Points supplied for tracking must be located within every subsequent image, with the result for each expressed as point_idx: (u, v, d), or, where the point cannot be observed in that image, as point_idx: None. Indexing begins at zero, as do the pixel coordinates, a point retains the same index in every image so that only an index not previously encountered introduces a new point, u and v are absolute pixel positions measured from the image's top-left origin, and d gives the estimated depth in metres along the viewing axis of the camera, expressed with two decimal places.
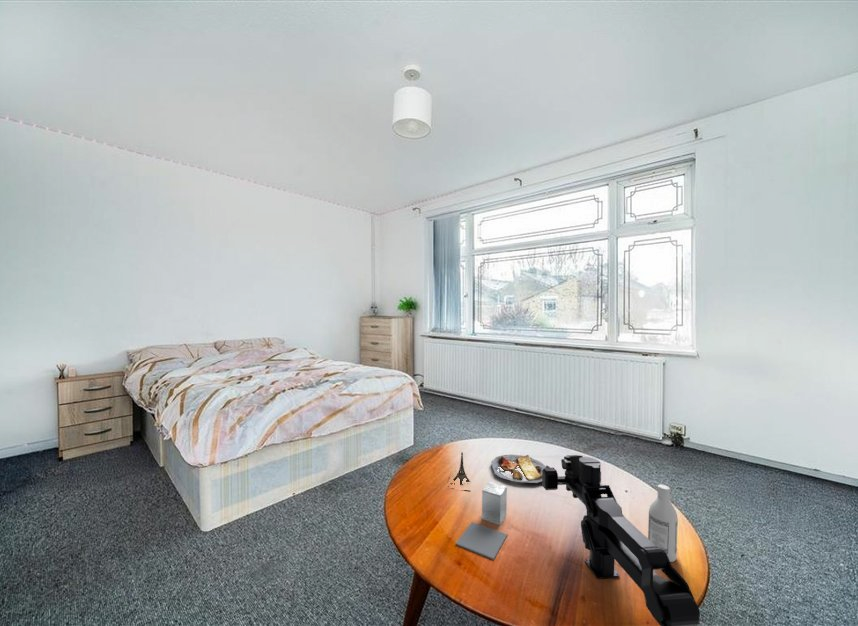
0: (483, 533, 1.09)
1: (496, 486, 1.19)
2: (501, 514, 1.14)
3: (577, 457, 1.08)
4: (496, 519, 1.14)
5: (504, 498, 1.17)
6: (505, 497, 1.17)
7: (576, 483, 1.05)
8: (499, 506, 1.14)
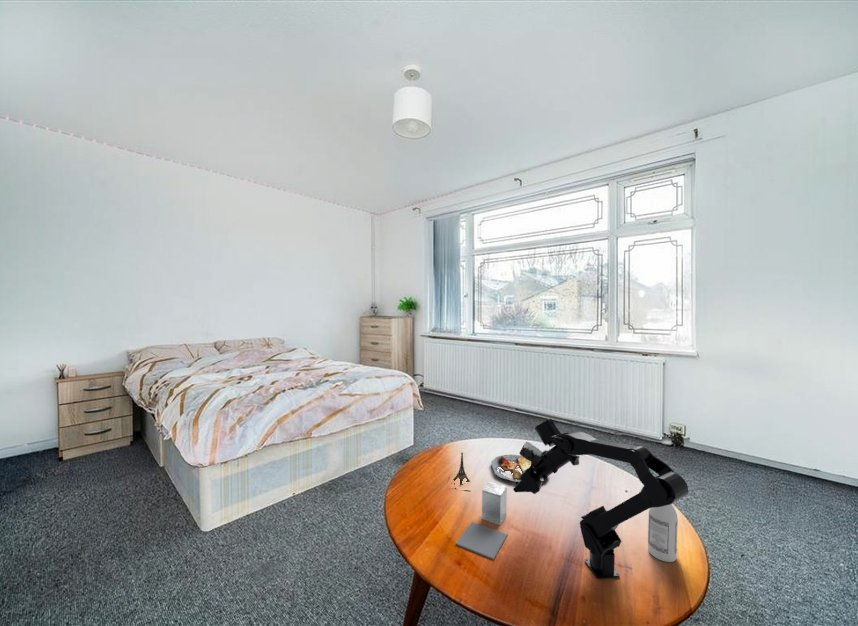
0: (483, 533, 1.09)
1: (496, 486, 1.19)
2: (501, 514, 1.14)
3: (526, 444, 1.12)
4: (496, 519, 1.14)
5: (504, 498, 1.17)
6: (505, 497, 1.17)
7: (547, 456, 1.06)
8: (499, 506, 1.14)
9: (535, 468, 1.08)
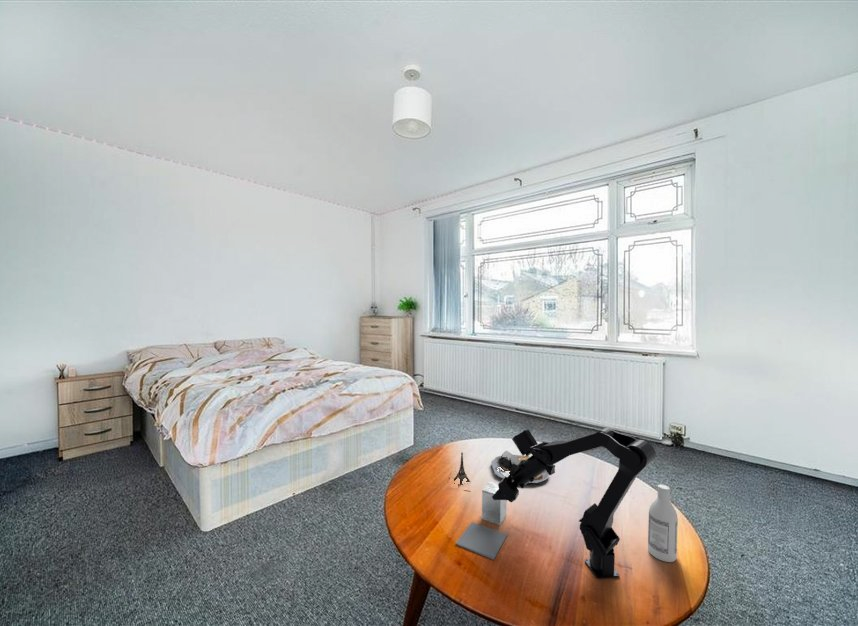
0: (483, 533, 1.09)
1: (496, 486, 1.19)
2: (501, 514, 1.14)
3: (505, 453, 1.16)
4: (496, 519, 1.14)
5: None
6: None
7: (524, 466, 1.10)
8: (499, 506, 1.14)
9: (513, 477, 1.12)
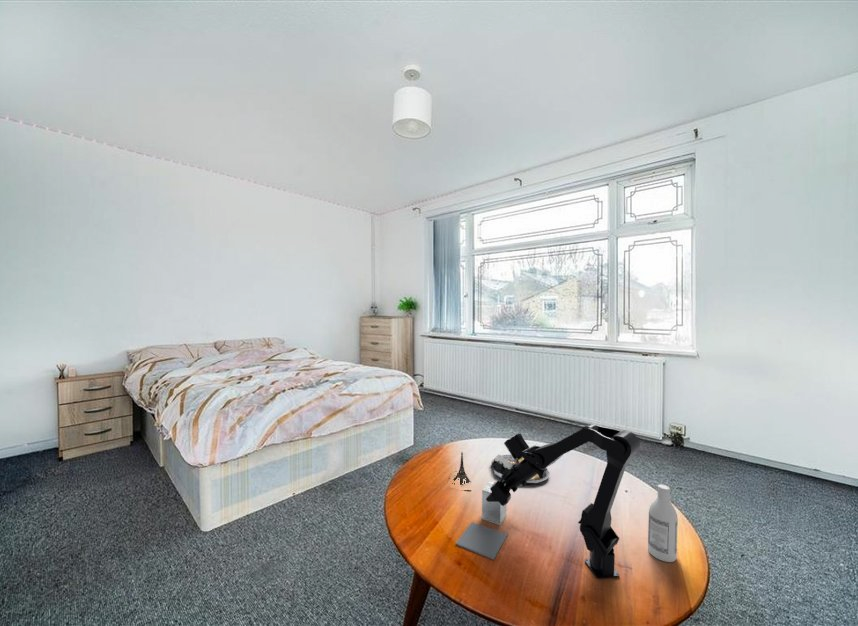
0: (483, 533, 1.09)
1: None
2: (501, 514, 1.14)
3: (498, 457, 1.17)
4: (496, 519, 1.14)
5: None
6: None
7: (516, 469, 1.11)
8: (499, 506, 1.14)
9: (505, 480, 1.13)
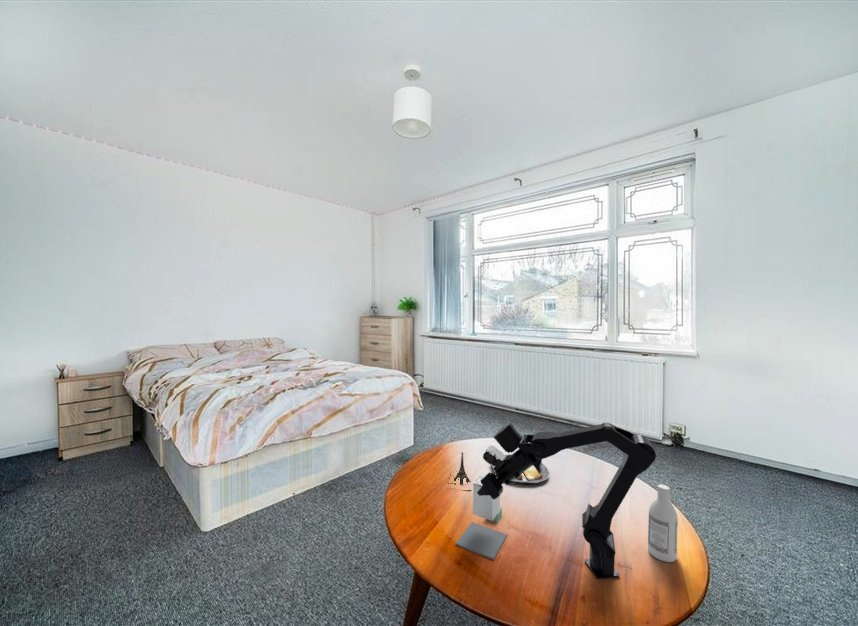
0: (483, 533, 1.09)
1: None
2: (493, 509, 1.06)
3: (490, 447, 1.09)
4: (488, 514, 1.06)
5: None
6: None
7: (509, 461, 1.03)
8: (490, 500, 1.06)
9: (497, 473, 1.05)
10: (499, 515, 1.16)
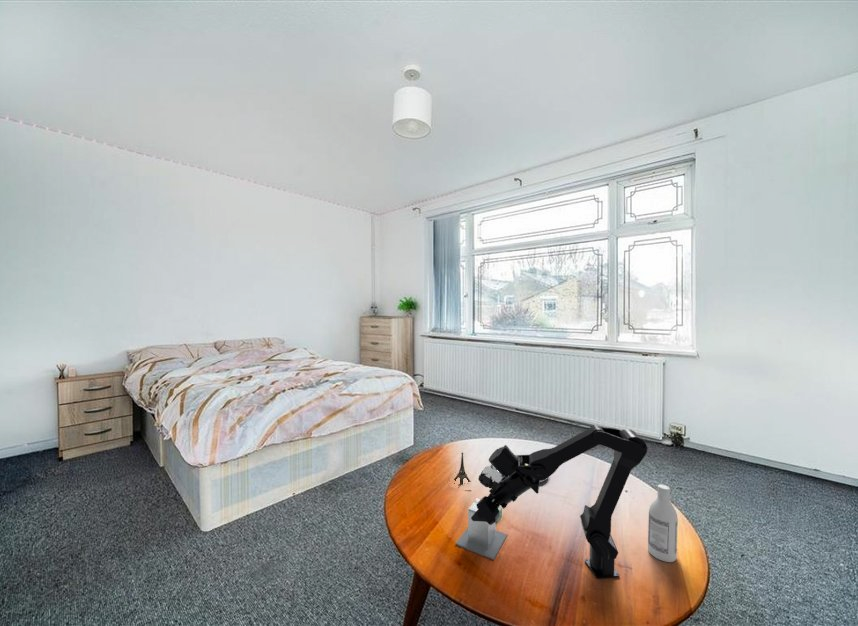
0: None
1: None
2: (489, 536, 1.03)
3: (486, 468, 1.05)
4: (483, 542, 1.02)
5: None
6: None
7: (506, 483, 1.00)
8: (486, 527, 1.02)
9: (494, 495, 1.01)
10: None
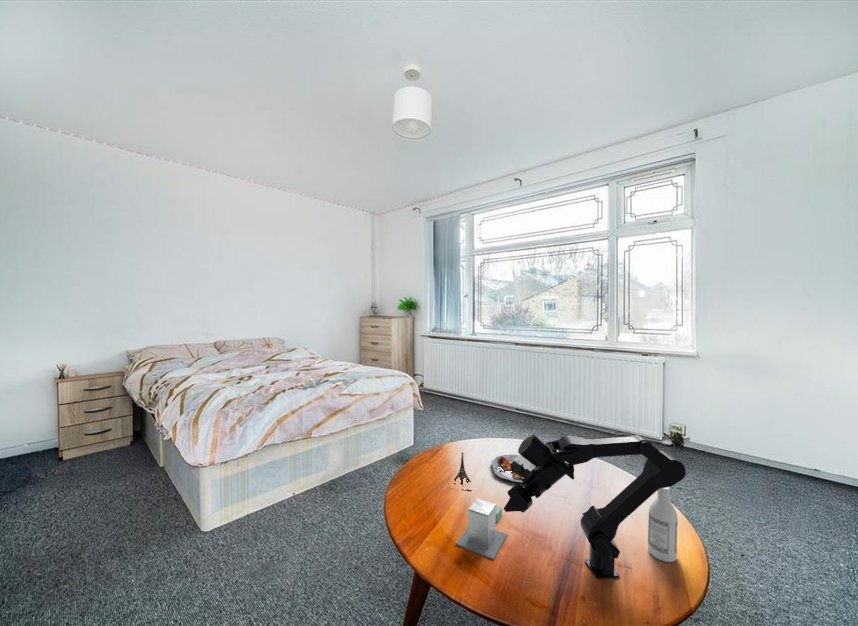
0: None
1: (484, 504, 1.07)
2: (489, 536, 1.03)
3: (517, 457, 1.03)
4: (483, 542, 1.02)
5: (493, 518, 1.05)
6: (493, 516, 1.06)
7: (538, 471, 0.96)
8: (486, 527, 1.02)
9: (526, 484, 0.98)
10: (499, 515, 1.16)
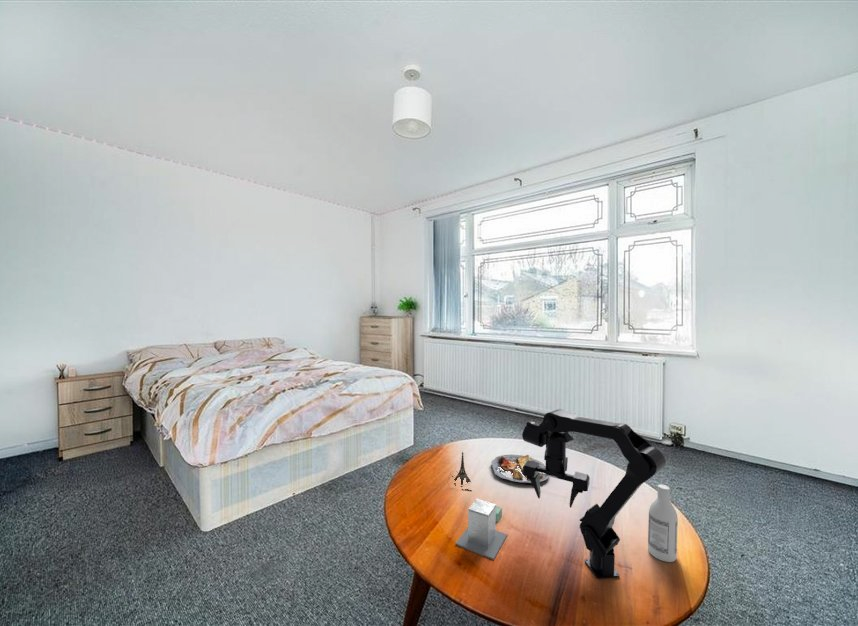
0: None
1: (484, 504, 1.07)
2: (489, 536, 1.03)
3: None
4: (483, 542, 1.02)
5: (493, 518, 1.05)
6: (493, 516, 1.06)
7: None
8: (486, 527, 1.02)
9: None
10: (499, 515, 1.16)
